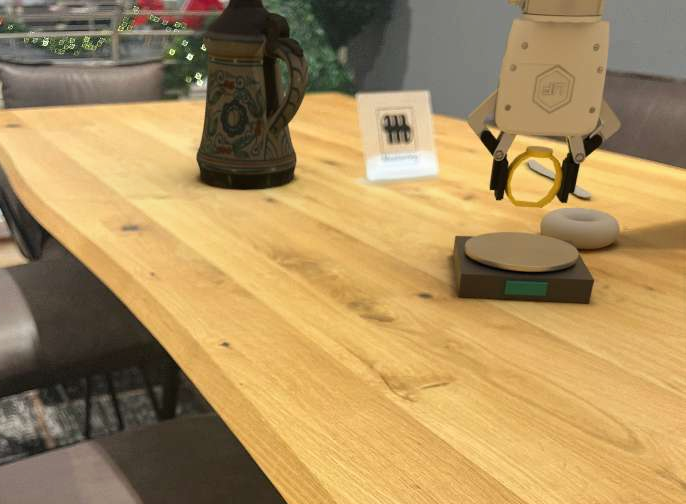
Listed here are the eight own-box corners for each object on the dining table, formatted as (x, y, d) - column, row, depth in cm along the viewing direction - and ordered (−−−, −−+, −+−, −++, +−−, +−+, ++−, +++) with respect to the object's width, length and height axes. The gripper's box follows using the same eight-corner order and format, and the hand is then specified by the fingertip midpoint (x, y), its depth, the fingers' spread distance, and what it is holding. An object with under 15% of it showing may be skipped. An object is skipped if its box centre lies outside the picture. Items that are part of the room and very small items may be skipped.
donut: (533, 248, 98) (615, 256, 95) (537, 221, 96) (621, 228, 93) (542, 227, 106) (618, 234, 103) (546, 202, 104) (623, 207, 101)
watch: (505, 210, 83) (514, 150, 79) (498, 203, 85) (506, 145, 81) (559, 209, 83) (570, 150, 79) (550, 203, 85) (561, 145, 82)
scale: (567, 261, 94) (572, 237, 92) (589, 304, 82) (595, 278, 80) (452, 256, 95) (455, 232, 93) (458, 298, 83) (461, 272, 81)
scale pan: (567, 239, 91) (568, 234, 91) (587, 274, 81) (588, 269, 81) (461, 234, 92) (462, 229, 92) (467, 269, 82) (468, 263, 82)
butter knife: (576, 195, 117) (595, 194, 118) (521, 160, 139) (537, 159, 140) (576, 199, 118) (594, 198, 118) (520, 163, 140) (536, 162, 140)
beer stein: (215, 164, 135) (205, -4, 121) (322, 170, 132) (325, -2, 118) (183, 186, 122) (168, 0, 108) (302, 194, 119) (302, 3, 105)
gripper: (474, 2, 71) (451, 204, 81) (666, 6, 69) (618, 211, 80) (469, -1, 77) (448, 187, 87) (646, 2, 75) (603, 193, 86)
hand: (530, 197), depth 83 cm, fingers closed on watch, 6 cm apart
